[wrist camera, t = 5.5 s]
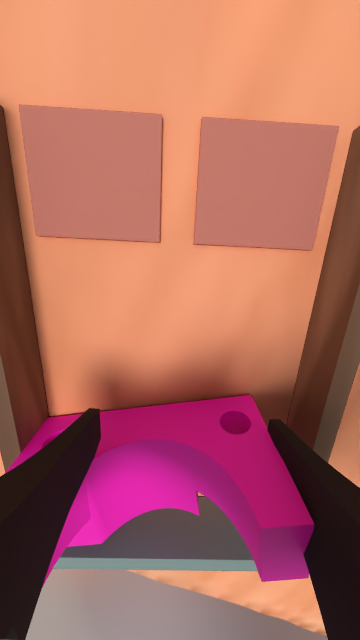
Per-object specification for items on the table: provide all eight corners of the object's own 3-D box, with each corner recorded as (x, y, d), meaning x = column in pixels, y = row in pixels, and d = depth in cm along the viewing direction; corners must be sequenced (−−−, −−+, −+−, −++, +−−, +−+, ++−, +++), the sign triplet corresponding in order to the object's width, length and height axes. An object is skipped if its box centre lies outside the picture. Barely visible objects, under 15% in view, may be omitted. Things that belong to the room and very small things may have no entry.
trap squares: (334, 129, 11) (338, 126, 11) (309, 250, 13) (312, 250, 13) (22, 108, 11) (18, 104, 10) (39, 236, 12) (36, 235, 12)
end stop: (283, 498, 19) (310, 561, 15) (280, 508, 19) (307, 572, 15) (45, 493, 18) (10, 556, 14) (47, 503, 18) (13, 568, 15)
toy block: (72, 477, 18) (1, 629, 11) (47, 417, 16) (-60, 557, 9) (252, 458, 17) (305, 606, 10) (251, 394, 15) (314, 524, 8)
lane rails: (375, 132, 11) (444, 88, 8) (283, 498, 19) (302, 542, 16) (-22, 105, 11) (-96, 48, 8) (45, 493, 18) (20, 538, 15)
